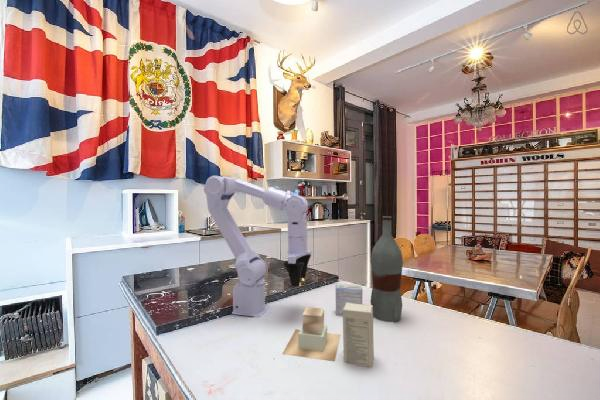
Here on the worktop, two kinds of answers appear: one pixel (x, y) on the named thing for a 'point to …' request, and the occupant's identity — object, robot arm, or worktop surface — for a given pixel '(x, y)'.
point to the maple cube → (313, 320)
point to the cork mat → (327, 354)
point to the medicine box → (347, 296)
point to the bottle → (386, 276)
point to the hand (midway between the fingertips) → (298, 281)
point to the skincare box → (358, 334)
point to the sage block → (312, 340)
